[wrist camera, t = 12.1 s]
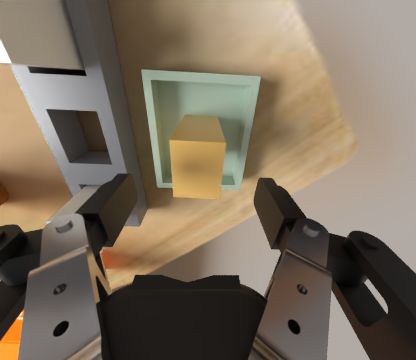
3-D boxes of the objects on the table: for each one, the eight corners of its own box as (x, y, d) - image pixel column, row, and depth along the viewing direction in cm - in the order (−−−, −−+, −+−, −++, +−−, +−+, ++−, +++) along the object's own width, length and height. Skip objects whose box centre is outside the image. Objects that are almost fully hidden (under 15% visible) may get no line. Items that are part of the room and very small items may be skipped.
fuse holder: (9, -29, 14) (-53, -64, 11) (103, -22, 14) (71, -54, 11) (101, 207, 28) (86, 225, 25) (147, 208, 29) (139, 226, 25)
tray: (150, 70, 18) (140, 69, 16) (253, 76, 18) (261, 76, 16) (162, 176, 25) (157, 187, 23) (236, 179, 26) (240, 190, 23)
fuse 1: (44, 5, 15) (-158, -89, 7) (88, 8, 15) (-56, -81, 7) (66, 69, 18) (-61, 59, 9) (103, 71, 18) (11, 63, 10)
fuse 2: (101, 172, 25) (45, 221, 16) (127, 173, 25) (86, 222, 16) (109, 198, 27) (66, 252, 19) (134, 199, 27) (101, 253, 19)
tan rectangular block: (184, 114, 20) (169, 140, 11) (217, 116, 20) (226, 142, 12) (185, 153, 23) (173, 197, 14) (214, 154, 23) (219, 198, 14)
